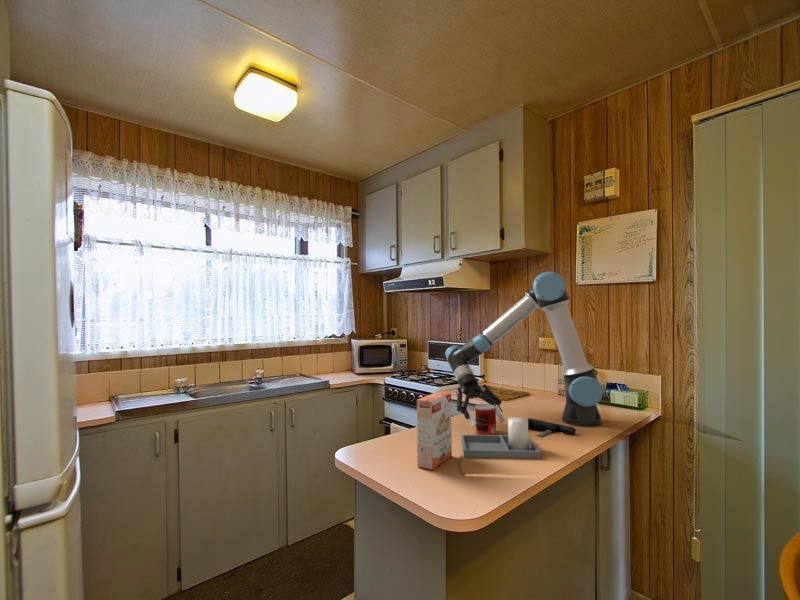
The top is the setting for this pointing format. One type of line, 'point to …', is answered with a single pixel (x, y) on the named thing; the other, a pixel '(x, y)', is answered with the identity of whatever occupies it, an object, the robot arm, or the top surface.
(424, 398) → the cracker box
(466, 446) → the caddy
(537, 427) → the toy submachine gun
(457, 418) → the top surface
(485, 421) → the canned food
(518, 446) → the ceramic jar
